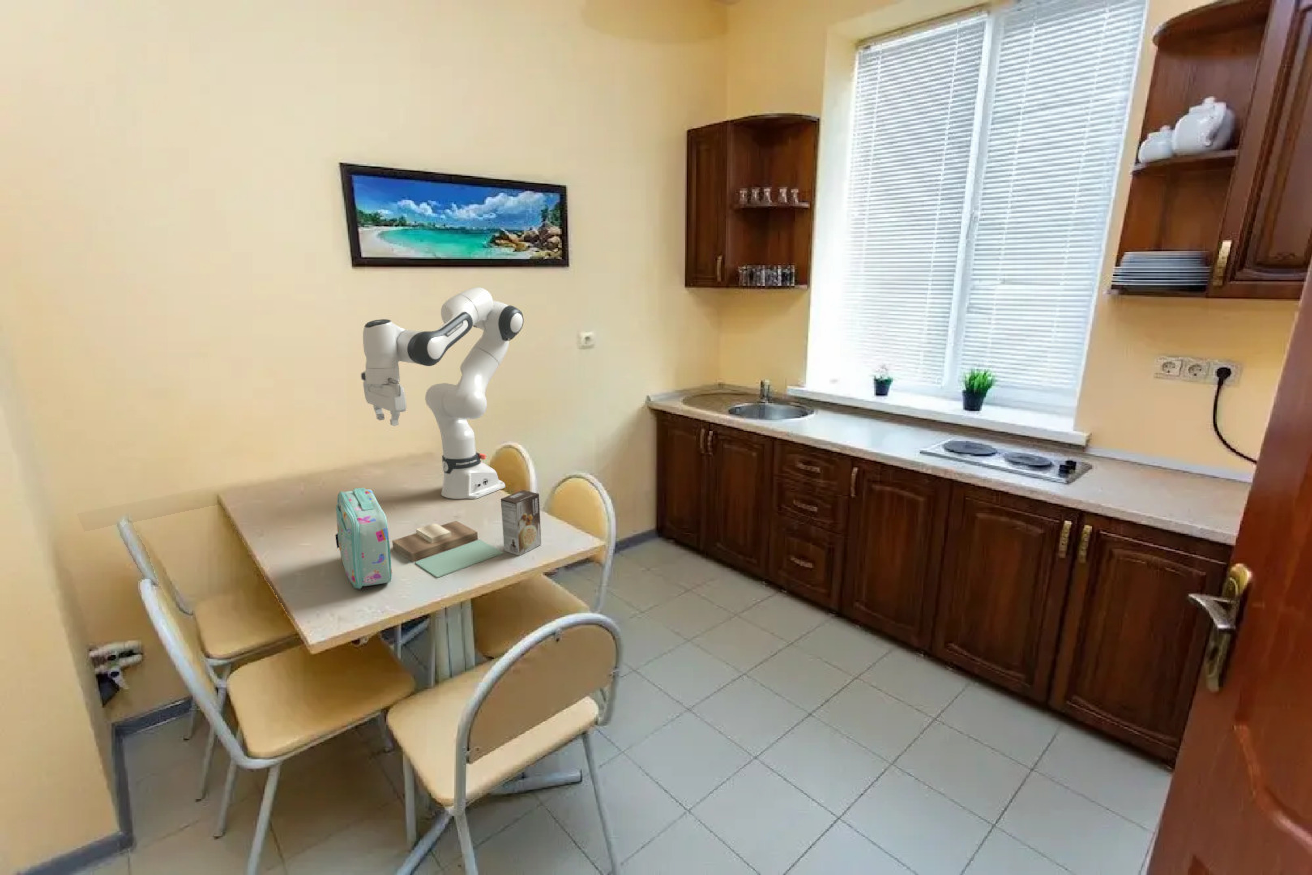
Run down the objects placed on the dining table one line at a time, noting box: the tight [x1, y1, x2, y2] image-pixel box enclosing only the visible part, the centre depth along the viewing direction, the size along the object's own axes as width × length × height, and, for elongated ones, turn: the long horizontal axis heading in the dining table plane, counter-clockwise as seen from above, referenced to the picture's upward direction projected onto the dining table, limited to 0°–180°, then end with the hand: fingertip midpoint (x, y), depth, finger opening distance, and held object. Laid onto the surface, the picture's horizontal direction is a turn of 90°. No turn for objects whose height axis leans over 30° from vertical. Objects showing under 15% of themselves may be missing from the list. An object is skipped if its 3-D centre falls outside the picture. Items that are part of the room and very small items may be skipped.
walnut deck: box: [391, 520, 479, 563], centre depth 175 cm, size 20×12×2 cm, turn 138°
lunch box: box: [334, 487, 393, 589], centre depth 157 cm, size 27×10×21 cm, turn 35°
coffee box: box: [500, 489, 542, 557], centre depth 172 cm, size 9×6×16 cm
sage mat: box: [414, 539, 504, 579], centre depth 167 cm, size 20×12×1 cm, turn 138°
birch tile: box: [415, 522, 451, 543], centre depth 176 cm, size 6×9×2 cm, turn 48°
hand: (387, 422), depth 179 cm, fingers open, 8 cm apart
